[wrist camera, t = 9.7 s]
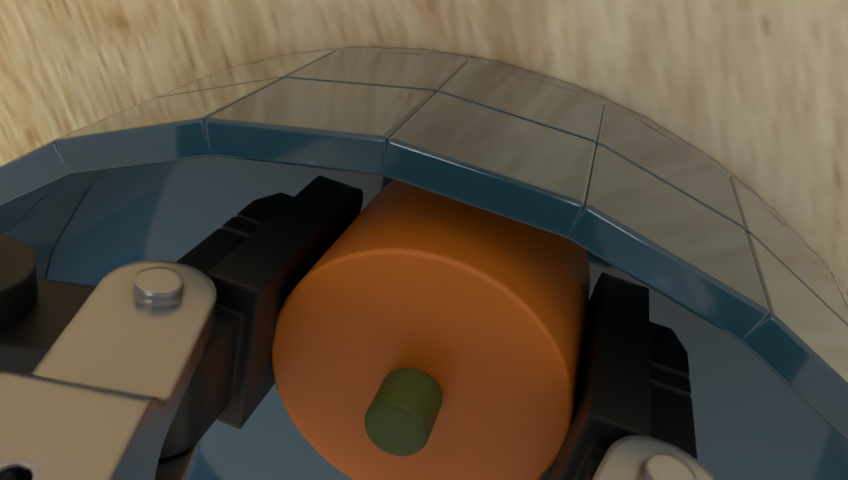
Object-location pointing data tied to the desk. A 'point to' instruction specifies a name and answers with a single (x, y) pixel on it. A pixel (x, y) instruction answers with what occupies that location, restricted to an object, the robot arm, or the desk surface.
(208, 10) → the desk surface
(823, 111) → the desk surface
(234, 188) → the bowl
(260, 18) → the desk surface
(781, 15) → the desk surface
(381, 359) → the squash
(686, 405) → the robot arm
